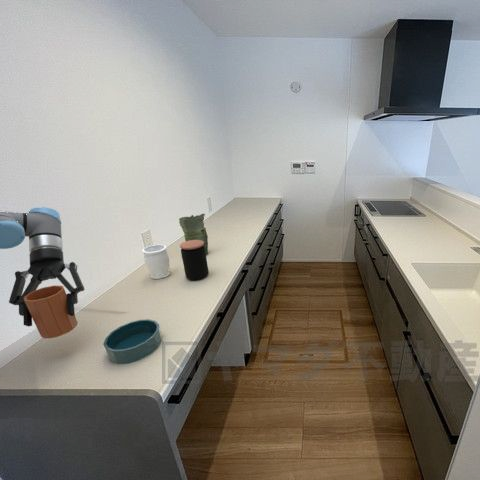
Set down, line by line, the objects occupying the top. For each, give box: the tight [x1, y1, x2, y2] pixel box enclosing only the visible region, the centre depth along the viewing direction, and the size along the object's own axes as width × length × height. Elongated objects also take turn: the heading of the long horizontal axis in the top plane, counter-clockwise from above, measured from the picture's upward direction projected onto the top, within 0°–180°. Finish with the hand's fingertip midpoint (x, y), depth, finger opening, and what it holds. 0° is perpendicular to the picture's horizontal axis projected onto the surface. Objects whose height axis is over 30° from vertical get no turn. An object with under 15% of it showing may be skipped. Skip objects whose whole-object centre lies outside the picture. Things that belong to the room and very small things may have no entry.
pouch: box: [178, 213, 209, 255], centre depth 154 cm, size 11×12×25 cm
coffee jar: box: [179, 240, 209, 282], centre depth 131 cm, size 11×11×18 cm
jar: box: [141, 244, 171, 280], centre depth 131 cm, size 11×10×15 cm
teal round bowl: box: [102, 318, 163, 365], centre depth 87 cm, size 15×15×6 cm
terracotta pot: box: [24, 285, 78, 339], centre depth 80 cm, size 8×9×13 cm
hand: (50, 319), depth 78 cm, fingers closed on terracotta pot, 9 cm apart
